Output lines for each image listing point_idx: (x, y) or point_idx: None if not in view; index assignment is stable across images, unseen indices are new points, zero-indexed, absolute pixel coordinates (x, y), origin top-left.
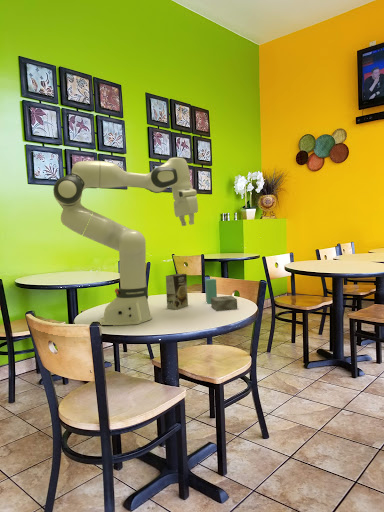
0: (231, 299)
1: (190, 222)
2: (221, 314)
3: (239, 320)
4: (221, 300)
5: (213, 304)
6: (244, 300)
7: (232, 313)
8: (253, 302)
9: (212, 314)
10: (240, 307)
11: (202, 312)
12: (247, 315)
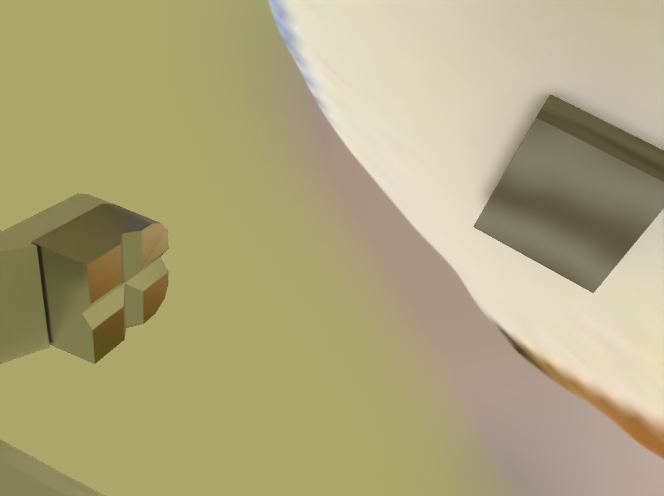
0: (491, 204)
1: (49, 212)
2: (457, 55)
3: (293, 27)
4: (519, 151)
5: (612, 138)
6: (637, 387)
7: (432, 112)
8: (551, 362)
9: (498, 18)
10: None
11: (599, 8)
12: (347, 126)
